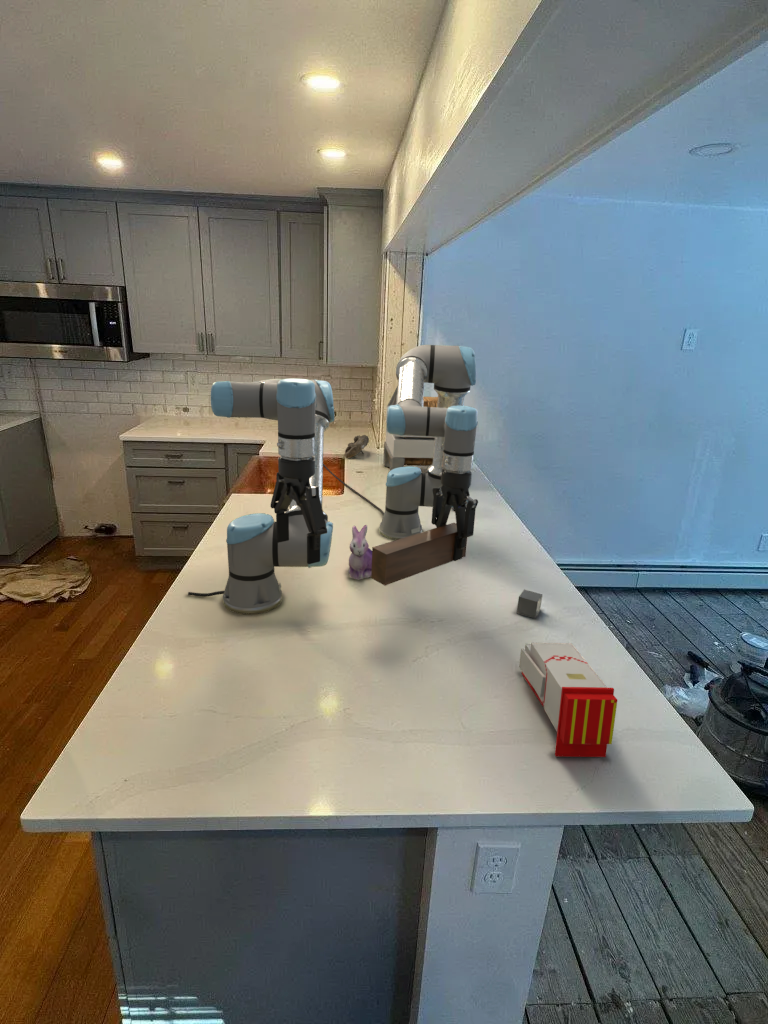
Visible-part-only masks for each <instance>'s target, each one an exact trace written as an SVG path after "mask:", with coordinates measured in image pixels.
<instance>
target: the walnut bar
mask: <svg viewBox="0 0 768 1024" xmlns="http://www.w3.org/2000/svg"><path fill="white" fill-rule="evenodd" d="M456 536H458V534H457V525H456V522H451V523H447V525H444V526H441V527H438V528H436V527H434V528H431V529H428V530H424V531H422V532H421V533H418V534H415V535H411V536H408V537H405V538H401V539H398V540H395V539H394V540H391V541H389V542H385V543H380V544H378V545H375V546H372V549H371V550H372V572H371V576H370V578H371V579H372V580H374V581H376V582H377V583H379V584H382V585H383V586H385V587H386V586H388V585H392V584H394V583H397V582H399V581H402V580H405V579H408V578H411V577H413V576H416V575H419V574H421V573H424V572H427V571H430V570H433V569H435V568H438V567H440V566H443V565H446V564H449V563H452V562H455V561H454V560H453V553H454V542H455V537H456ZM467 545H468V537H467V538H466V543H465V548H464V549H463V554H462V559H463V558H465V557H466V555H467V547H468V546H467Z"/></svg>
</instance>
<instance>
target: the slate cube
mask: <svg viewBox="0 0 768 1024" xmlns="http://www.w3.org/2000/svg"><path fill="white" fill-rule="evenodd" d="M542 600H543V593H539V592H535V591H532V590H528V589H525V588H524V589H523V590H522V592H521V593H520V594H519V596H518V599H517V608H516V614H517V615H521V616H525V617H528V618H532V619H536V618H537V617H538V615H539V613H540V612H541V607H542Z"/></svg>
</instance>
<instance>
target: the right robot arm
mask: <svg viewBox="0 0 768 1024" xmlns="http://www.w3.org/2000/svg"><path fill="white" fill-rule="evenodd" d="M395 378H396V380H397V386H398V389H397V398H396V405H391V406H389V407H388V409H387V408H386V412H387V423H386V428H385V430H386V429H387V432H388V433H390V434H397V435H412V436H431V437H435V440H434V452H433V464H432V465H430V466H429V465H428V466H427V472H422V469H421V468H420V467H419V466H418V467H417V466H407V465H406V466H404V467H399V468H395V469H393V470H391V471H390V470H389V471H388V473H387V475H386V482H385V487H386V488H385V489H386V490H385V504H384V505H385V507H384V508H385V509H384V511H383V509H381V508H380V507H378V506H377V505H376V504H374V503H373V502H372V501H371V500H369V499H368V498H366V497H365V496H363V495H362V494H361V493H360V492H358V491H357V490H355V489H353V487H351V486H349V485H348V484H347V483H346V482H344V481H343V480H341V478H339V477H338V476H337V475H335V474H334V473H333V472H332V471H331V470H330V469H329V468H328V467H327V466H326V465H325V464H324V463H323V468H325V469H326V470H327V472H329V473H330V475H332V476H333V477H334V478H335V479H336V480H338V481H339V482H340V483H341V484H342V485H344V486H345V487H347V488H348V489H349V490H351V491H352V492H353V493H355V494H356V495H358V496H359V497H361V498H362V499H363V500H364V501H366V502H368V503H369V504H370V505H371V506H373V507H374V508H375V509H376V510H378V511H379V512H380V513H381V514H382V519H381V522H379V527H378V533H379V534H380V535H381V536H382V537H385V538H387V539H389V540H394V541H395V540H398V539H401V538H405V537H408V536H411V535H415V534H418V533H421V532H423V525H422V524H421V518H420V515H419V507H425V508H426V507H427V508H430V507H431V508H432V509H431V510H432V511H431V522H430V523H431V524H432V525H434V526H435V528H438V527H441V526H444V525H448V521H449V517H450V514H451V511H452V509H453V512H454V514H455V515H454V516H455V523H456V525H457V534H458V536H456V537H455V542H454V553H453V560H454V561H453V562H457V561H459V560H462V559H463V558H462V554H463V549H464V548H465V543H466V538H467V539H468V538H470V537H473V536H474V531H475V521H476V509H477V506H478V505H479V500H478V499H477V498H476V499H474V498H472V496H471V494H470V491H469V490H470V488H471V485H472V478H473V472H472V470H473V469H474V457H475V456H474V455H475V445H476V435H477V428H478V424H479V421H478V415H479V414H478V413H479V412H478V409H477V408H475V407H472V406H469V405H465V397H466V396H467V394H469V393H470V392H471V386H472V387H473V386H475V385H476V384H477V363H476V353H475V350H474V349H473V348H472V347H470V346H464V345H446V344H445V345H444V344H443V345H441V344H421V345H418V346H415V347H413V348H411V349H409V350H408V351H406V352H405V353H404V354H403V355H402V356H401V357H400V358H399V360H398V362H397V364H396V367H395ZM425 384H433V390H434V391H435V392H436V393H437V397H438V401H437V407H423V397H425V396H424V394H425V393H424V389H425ZM466 502H467V503H466ZM460 506H461V507H460Z"/></svg>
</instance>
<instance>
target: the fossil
mask: <svg viewBox="0 0 768 1024" xmlns="http://www.w3.org/2000/svg"><path fill="white" fill-rule="evenodd" d="M369 443H370V438H369V435H366V434H362V435H360V434H359V435H355V436H354V437H353V442H349V443H348V444H347V447H346V448H345V449H344V450H345V451H344V457H345V458H347V459H351V458H353V457H356V456H357V455H358V454H359V453H361V454H362V455H364V454H365V453H364V452H363V450H364V449H365V447H367V446H368V444H369Z"/></svg>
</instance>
